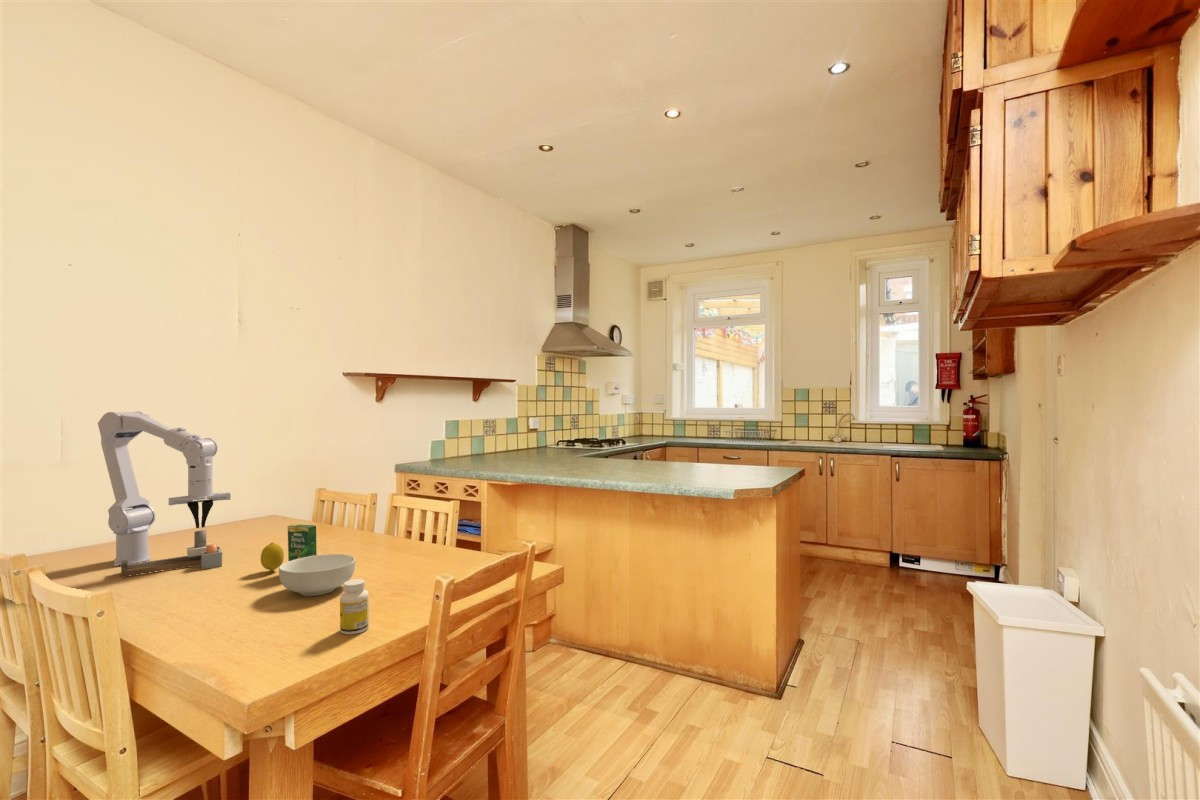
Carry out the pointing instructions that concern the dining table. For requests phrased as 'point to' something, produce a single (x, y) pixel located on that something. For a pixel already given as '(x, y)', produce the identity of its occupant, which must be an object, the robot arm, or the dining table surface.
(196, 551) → the carriage
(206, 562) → the box
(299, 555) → the coffee box
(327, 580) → the cereal bowl
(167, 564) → the rail board
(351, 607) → the supplement bottle
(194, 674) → the dining table surface
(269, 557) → the lemon
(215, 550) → the orange cylindrical peg
